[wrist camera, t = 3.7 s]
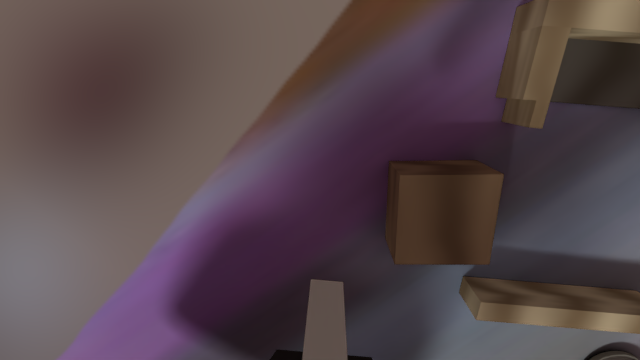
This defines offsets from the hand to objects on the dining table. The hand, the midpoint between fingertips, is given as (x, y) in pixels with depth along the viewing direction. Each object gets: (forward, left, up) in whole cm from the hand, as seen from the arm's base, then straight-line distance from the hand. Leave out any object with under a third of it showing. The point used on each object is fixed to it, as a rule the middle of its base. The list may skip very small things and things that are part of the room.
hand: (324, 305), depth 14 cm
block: (+10, 0, -16) cm, 19 cm away
